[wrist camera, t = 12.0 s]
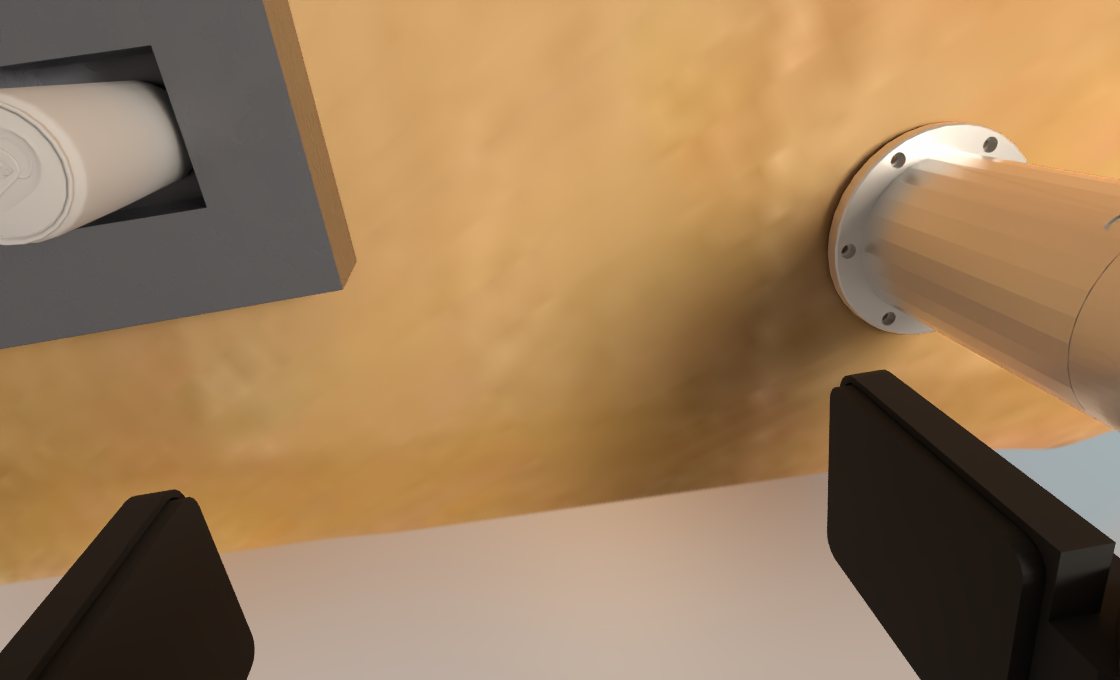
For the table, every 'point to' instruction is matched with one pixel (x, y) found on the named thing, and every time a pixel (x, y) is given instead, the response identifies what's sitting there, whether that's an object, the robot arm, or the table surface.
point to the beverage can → (82, 154)
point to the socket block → (208, 189)
